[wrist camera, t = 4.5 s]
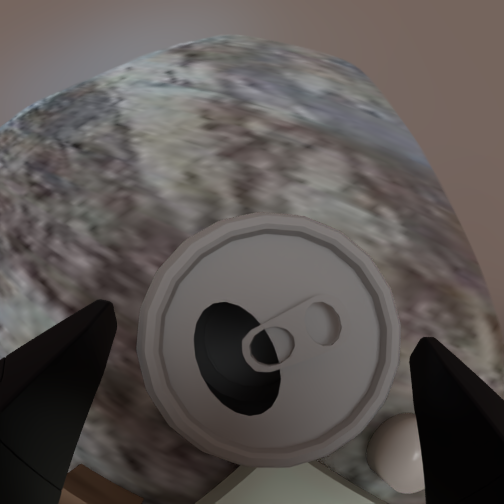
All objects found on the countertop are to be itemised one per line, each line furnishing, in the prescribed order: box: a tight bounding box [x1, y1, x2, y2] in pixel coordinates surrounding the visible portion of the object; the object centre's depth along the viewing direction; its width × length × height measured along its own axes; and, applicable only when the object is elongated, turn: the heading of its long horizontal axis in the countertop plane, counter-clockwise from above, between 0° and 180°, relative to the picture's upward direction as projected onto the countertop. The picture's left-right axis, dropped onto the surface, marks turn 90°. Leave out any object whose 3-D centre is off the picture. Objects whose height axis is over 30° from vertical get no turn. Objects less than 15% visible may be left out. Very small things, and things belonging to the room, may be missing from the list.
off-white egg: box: [366, 413, 425, 494], centre depth 15 cm, size 5×5×4 cm
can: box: [136, 212, 401, 468], centre depth 12 cm, size 8×8×12 cm
